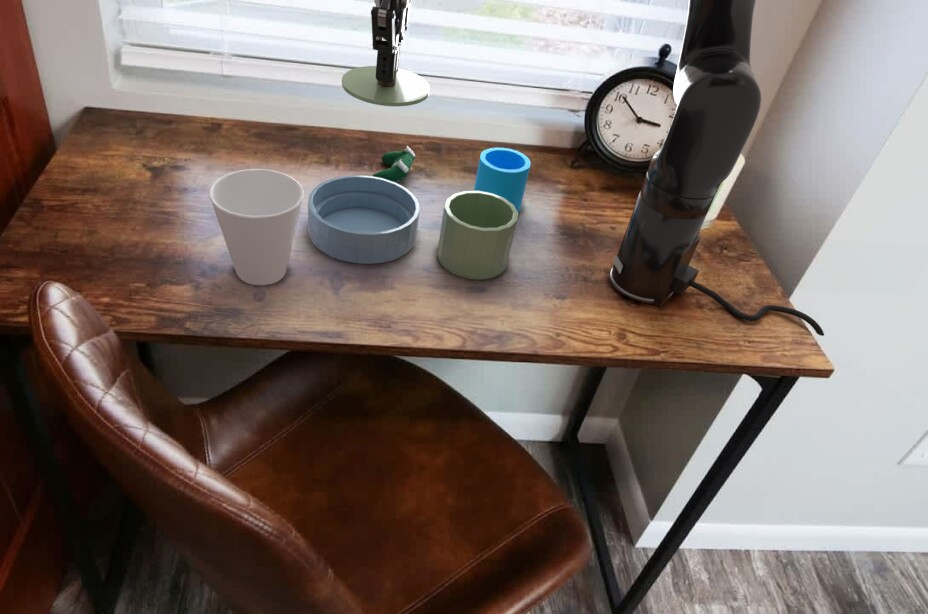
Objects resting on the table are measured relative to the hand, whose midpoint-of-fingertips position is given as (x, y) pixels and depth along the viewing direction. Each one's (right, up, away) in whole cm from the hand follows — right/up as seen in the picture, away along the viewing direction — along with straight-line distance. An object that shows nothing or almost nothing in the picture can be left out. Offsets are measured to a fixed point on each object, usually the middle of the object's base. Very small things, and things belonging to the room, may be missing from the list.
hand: (387, 75), depth 90 cm
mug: (+17, -10, +29) cm, 35 cm away
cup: (-18, -24, +8) cm, 31 cm away
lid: (0, -1, +1) cm, 1 cm away
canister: (+12, -22, +15) cm, 29 cm away
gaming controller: (0, -6, +31) cm, 32 cm away
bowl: (-4, -18, +17) cm, 25 cm away
